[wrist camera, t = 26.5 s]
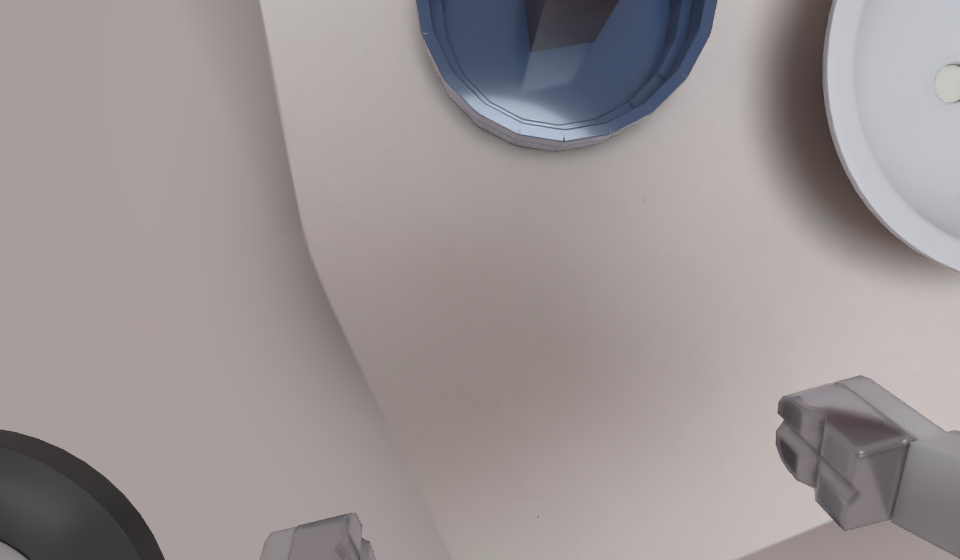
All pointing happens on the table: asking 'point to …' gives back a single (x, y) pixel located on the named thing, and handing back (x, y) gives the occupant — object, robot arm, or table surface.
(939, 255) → the white sink basin
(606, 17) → the block
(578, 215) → the table surface
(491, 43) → the bowl
